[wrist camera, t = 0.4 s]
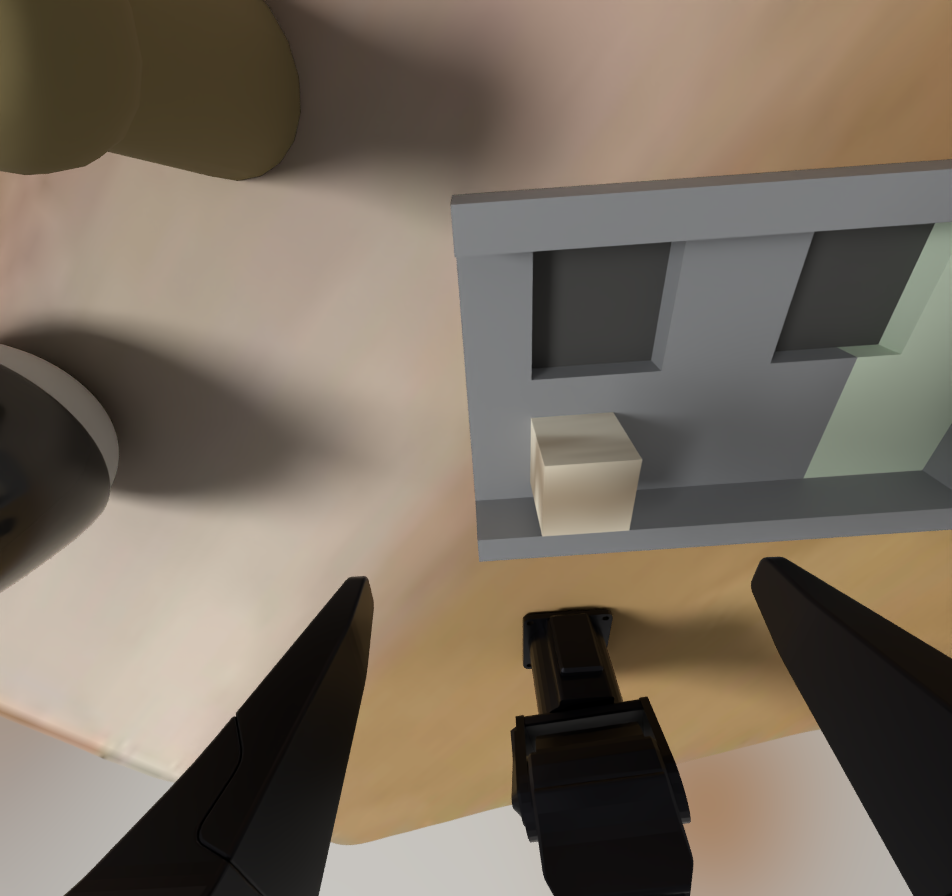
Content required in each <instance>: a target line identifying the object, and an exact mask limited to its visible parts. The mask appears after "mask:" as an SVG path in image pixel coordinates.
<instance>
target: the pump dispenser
mask: <svg viewBox="0 0 952 896" xmlns="http://www.w3.org/2000/svg"><path fill="white" fill-rule="evenodd" d="M118 462H119V446H118V440H117V436H116V432H115V429H114V427H113V424H112V422H111V420H110V418H109V416H108V414H107V413H106V411H105V410H104V408H103V407H102V405H101V404H100V403H99V401H98V400H97V399H96V398H95V397H94V396H93V395H92V394H91V393H90V392H89V391H88V390H87V389H86V388H85V387H84V386H83V385H82V384H81V383H80V382H78V381H77V380H76V379H74V378H73V377H72V376H71V375H69V374H68V373H66V372H65V371H63V370H62V369H60V368H58V367H57V366H55V365H53V364H51V363H49V362H47V361H46V360H43V359H41V358H39V357H37V356H35V355H33V354H30V353H27V352H25V351H22V350H19V349H16V348H13V347H10V346H6V345H2V344H0V593H1V592H3V591H4V590H6V589H7V588H9V587H10V586H12V585H13V584H15V583H16V582H18V581H19V580H21V579H22V578H24V577H25V576H27V575H28V574H29V573H31V572H32V571H34V570H35V569H36V568H38V567H39V566H41V565H42V564H43V563H45V562H46V561H47V560H49V559H50V558H51V557H53V556H54V555H56V554H57V553H58V552H60V551H61V550H62V549H64V548H65V547H66V546H67V545H69V544H70V543H71V542H73V541H74V540H75V539H76V538H77V537H79V536H80V535H81V534H82V533H83V532H84V531H85V530H86V529H88V528H89V527H90V526H91V525H92V524H93V523H94V522H95V521H96V520H97V518H98V517H99V516H100V515H101V514H102V512H103V511H104V509H105V507H106V505H107V502H108V499H109V495H110V488H111V486H112V484H113V481H114V479H115V476H116V472H117V468H118Z"/></svg>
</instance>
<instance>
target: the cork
mask: <svg viewBox="0 0 952 896" xmlns="http://www.w3.org/2000/svg"><path fill="white" fill-rule="evenodd" d="M300 112H301V110H300V90H299V77H298V73H297V70H296V67H295V63H294V60H293V57H292V53H291V50H290V47H289V43H288V41H287V39H286V37H285V35H284V34H283V32H282V30H281V28H280V26H279V25H278V23H277V21H276V19H275V18H274V16H273V14H272V12H271V10H270V9H269V7H268V6H267V5H266V3H265V2H264V1H263V0H0V171H3V172H10V173H16V174H22V175H34V174H49V173H54V172H59V171H64V170H69V169H74V168H79V167H83V166H86V165H88V164H90V163H91V162H93V161H95V160H97V159H98V158H100V157H101V156H102V155H104V154H105V153H106V152H111V153H116V154H120V155H124V156H128V157H132V158H137V159H141V160H145V161H149V162H153V163H157V164H162V165H166V166H170V167H174V168H178V169H183V170H187V171H191V172H195V173H199V174H204V175H208V176H212V177H218V178H224V179H230V180H236V181H238V180H243V179H248V178H253V177H258V176H262V175H263V174H264V173H266V172H267V171H269V170H270V169H272V168H273V167H275V166H276V165H277V164H279V163H280V162H281V161H282V159H283V157H284V156H285V154H286V153H287V151H288V149H289V148H290V146H291V145H292V143H293V142H294V139H295V134H296V130H297V126H298V121H299V117H300Z"/></svg>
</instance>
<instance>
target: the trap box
mask: <svg viewBox="0 0 952 896" xmlns="http://www.w3.org/2000/svg"><path fill="white" fill-rule="evenodd" d="M451 217H452V229H453V242H454V254H455V257H456V259H457V271H458V284H459V297H460V309H461V322H462V335H463V347H464V360H465V373H466V385H467V398H468V411H469V423H470V436H471V449H472V461H473V474H474V487H475V499H476V518H477V537H478V551H479V562H480V561H495V560H509V559H524V558H539V557H554V556H568V555H583V554H598V553H612V552H627V551H642V550H656V549H671V548H686V547H700V546H715V545H730V544H745V543H759V542H774V541H789V540H803V539H818V538H833V537H847V536H862V535H877V534H891V533H906V532H921V531H936V530H950V529H952V159H948V160H934V161H920V162H906V163H892V164H878V165H864V166H850V167H836V168H822V169H808V170H795V171H781V172H767V173H753V174H739V175H725V176H711V177H697V178H683V179H669V180H655V181H641V182H627V183H613V184H599V185H585V186H571V187H557V188H544V189H530V190H516V191H502V192H488V193H474V194H460V195H452V199H451ZM610 412H613V413H614V414H615V416H616V418H617V419H618V421H619V422H620V424H621V426H622V427H623V429H624V431H625V432H626V434H627V435H628V437H629V439H630V440H631V442H632V444H633V445H634V447H635V448H636V450H637V452H638V453H639V455H640V457H641V458H642V464H641V469H640V475H639V480H638V485H637V491H636V496H635V502H634V507H633V512H632V518H631V523H630V529H629V531H615V532H601V533H586V534H572V535H557V536H542V533H541V528H540V524H539V520H538V515H537V511H536V506H535V502H534V497H533V493H532V488H531V484H530V462H531V418H538V417H552V416H567V415H581V414H595V413H610Z"/></svg>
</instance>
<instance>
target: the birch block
mask: <svg viewBox="0 0 952 896" xmlns="http://www.w3.org/2000/svg"><path fill="white" fill-rule="evenodd" d="M641 464H642V458H641V457H640V455H639V453H638V452H637V450H636V448H635V447H634V445H633V444H632V442H631V440H630V439H629V437H628V435H627V434H626V432H625V431H624V429H623V427H622V426H621V424H620V422H619V421H618V419H617V418H616V416H615V414H614V413H613V412H610V413H595V414H581V415H567V416H552V417H538V418H531V462H530V484H531V488H532V493H533V497H534V502H535V506H536V511H537V515H538V520H539V524H540V528H541V533H542V536H557V535H572V534H586V533H601V532H615V531H629V529H630V523H631V518H632V512H633V507H634V502H635V496H636V491H637V485H638V480H639V475H640V469H641Z"/></svg>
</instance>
